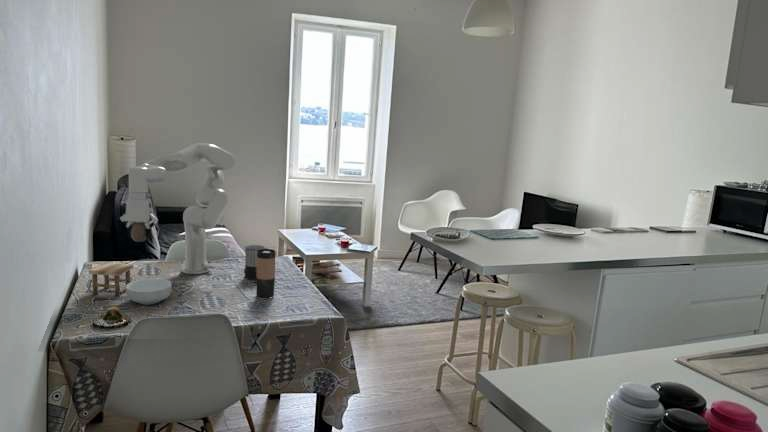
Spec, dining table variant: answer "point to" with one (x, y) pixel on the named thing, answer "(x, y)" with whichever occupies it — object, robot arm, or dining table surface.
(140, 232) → the vase
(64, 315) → the dining table surface
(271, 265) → the travel mug
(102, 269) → the stool
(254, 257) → the milk frother
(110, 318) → the mossy pebble dish
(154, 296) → the cereal bowl
